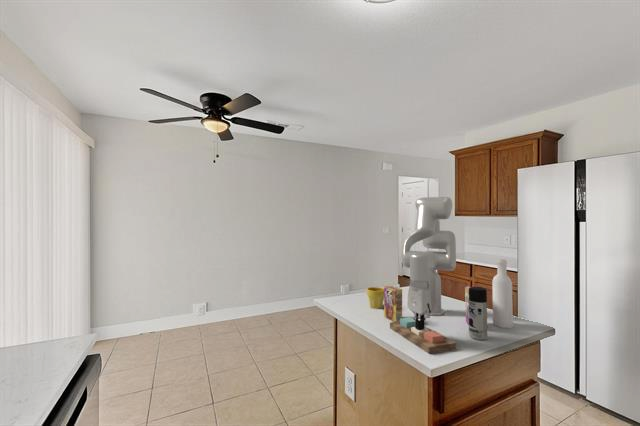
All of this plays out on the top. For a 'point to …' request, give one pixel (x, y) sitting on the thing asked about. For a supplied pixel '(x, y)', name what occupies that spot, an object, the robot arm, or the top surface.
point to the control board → (421, 341)
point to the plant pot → (375, 296)
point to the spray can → (478, 313)
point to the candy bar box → (467, 303)
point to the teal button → (407, 322)
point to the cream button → (419, 331)
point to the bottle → (502, 297)
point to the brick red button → (433, 337)
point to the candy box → (393, 303)
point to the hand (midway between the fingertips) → (419, 328)
